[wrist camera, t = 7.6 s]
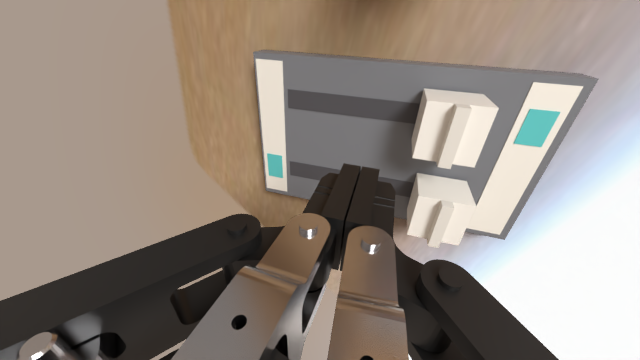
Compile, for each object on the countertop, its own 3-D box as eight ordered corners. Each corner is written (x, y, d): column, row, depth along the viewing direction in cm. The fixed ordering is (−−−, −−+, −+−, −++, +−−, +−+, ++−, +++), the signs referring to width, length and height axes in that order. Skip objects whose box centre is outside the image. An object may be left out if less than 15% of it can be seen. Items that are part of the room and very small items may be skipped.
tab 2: (416, 172, 22) (418, 201, 19) (466, 181, 21) (478, 213, 18) (406, 209, 24) (407, 241, 21) (451, 217, 24) (459, 252, 20)
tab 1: (423, 88, 19) (428, 103, 15) (483, 94, 18) (503, 112, 14) (411, 139, 21) (412, 163, 17) (464, 146, 20) (477, 173, 16)
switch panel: (264, 49, 23) (252, 52, 21) (580, 73, 18) (600, 79, 16) (273, 181, 30) (265, 191, 29) (497, 225, 25) (504, 240, 23)
